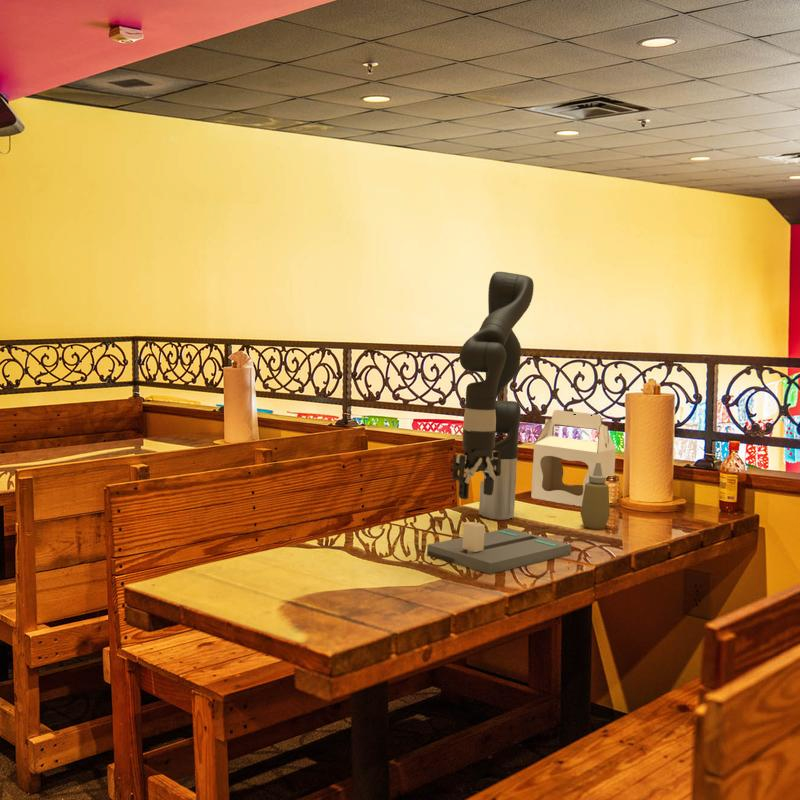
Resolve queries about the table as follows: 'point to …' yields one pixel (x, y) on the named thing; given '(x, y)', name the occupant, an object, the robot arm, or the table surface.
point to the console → (501, 551)
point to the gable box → (569, 457)
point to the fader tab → (473, 537)
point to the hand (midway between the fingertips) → (475, 496)
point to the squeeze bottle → (595, 501)
